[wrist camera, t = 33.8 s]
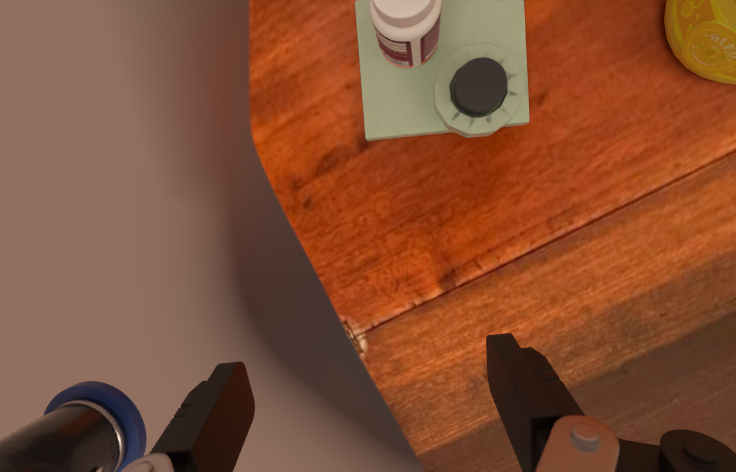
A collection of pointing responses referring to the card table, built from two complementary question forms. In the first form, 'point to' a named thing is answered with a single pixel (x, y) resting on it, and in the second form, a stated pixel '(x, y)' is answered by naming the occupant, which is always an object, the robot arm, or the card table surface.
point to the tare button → (480, 85)
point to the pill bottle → (406, 30)
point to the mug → (703, 37)
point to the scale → (445, 73)
